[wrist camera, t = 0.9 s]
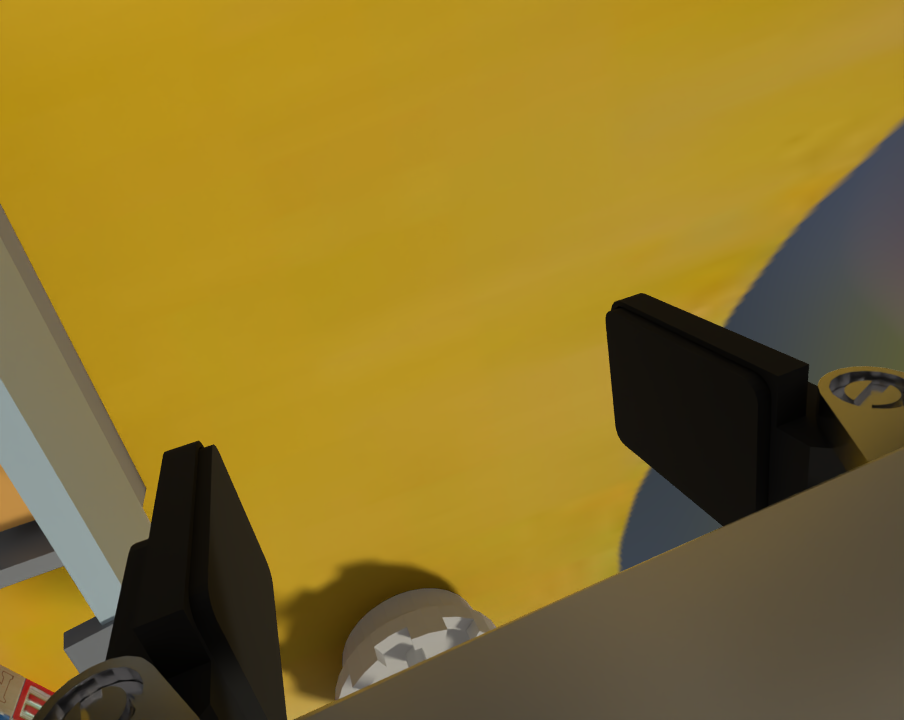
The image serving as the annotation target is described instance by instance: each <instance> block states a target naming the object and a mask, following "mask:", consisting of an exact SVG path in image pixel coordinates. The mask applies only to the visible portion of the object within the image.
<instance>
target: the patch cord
mask: <svg viewBox="0 0 904 720" xmlns="http://www.w3.org/2000/svg"><path fill="white" fill-rule="evenodd" d="M34 520H35V518H34V517H33V515H32V514H31V512H30V511H29V509H28V507H27V506H26V504H25V503H24V501H23V499H22V498H21V496H20V495H19V493H18V491H17V490H16V488H15V487H14V485H13V483H12V482H11V480H10V479H9V477H8V476H7V474H6V472H5V471H4V469H3V468H2V466H1V464H0V532H1V531H4V530H7V529H10V528H13V527H16V526H19V525H22V524H25V523H28V522H31V521H34Z"/></svg>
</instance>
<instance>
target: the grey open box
mask: <svg viewBox="0 0 904 720" xmlns="http://www.w3.org/2000/svg"><path fill="white" fill-rule="evenodd" d="M0 237H1V239H2V241H3V243H4V245H5V247H6V249H7V250H8V252H9V254H10V256H11V258H12V260H13V262H14V264H15V266H16V268H17V270H18V271H19V273H20V275H21V277H22V279H23V281H24V283H25V285H26V287H27V289H28V290H29V292H30V294H31V296H32V298H33V300H34V302H35V304H36V306H37V308H38V310H39V311H40V313H41V315H42V317H43V319H44V321H45V323H46V325H47V327H48V329H49V330H50V332H51V334H52V336H53V338H54V340H55V342H56V344H57V346H58V348H59V350H60V351H61V353H62V355H63V357H64V359H65V361H66V363H67V365H68V367H69V369H70V370H71V372H72V374H73V376H74V378H75V380H76V382H77V384H78V386H79V388H80V390H81V391H82V393H83V395H84V397H85V399H86V401H87V403H88V405H89V407H90V409H91V411H92V412H93V414H94V416H95V418H96V420H97V422H98V424H99V426H100V428H101V430H102V431H103V433H104V435H105V437H106V439H107V441H108V443H109V445H110V447H111V449H112V451H113V452H114V454H115V456H116V458H117V460H118V462H119V464H120V466H121V468H122V470H123V471H124V473H125V475H126V477H127V479H128V481H129V483H130V485H131V487H132V489H133V491H134V492H135V494H136V496H137V498H138V500H139V502H140V504H141V506H142V507H143V502H144V497H145V493H146V487H145V485H144V483H143V481H142V479H141V477H140V475H139V474H138V472H137V470H136V468H135V466H134V464H133V462H132V460H131V458H130V456H129V454H128V452H127V450H126V448H125V446H124V444H123V442H122V440H121V438H120V436H119V435H118V433H117V431H116V429H115V427H114V425H113V423H112V421H111V419H110V417H109V415H108V413H107V411H106V409H105V407H104V405H103V403H102V401H101V399H100V397H99V396H98V394H97V392H96V390H95V388H94V386H93V384H92V382H91V380H90V378H89V376H88V374H87V372H86V370H85V368H84V366H83V364H82V362H81V360H80V358H79V356H78V355H77V353H76V351H75V349H74V347H73V345H72V343H71V341H70V339H69V337H68V335H67V333H66V331H65V329H64V327H63V325H62V323H61V321H60V319H59V317H58V316H57V314H56V312H55V310H54V308H53V306H52V304H51V302H50V300H49V298H48V296H47V294H46V292H45V290H44V288H43V286H42V284H41V282H40V280H39V278H38V277H37V275H36V273H35V271H34V269H33V267H32V265H31V263H30V261H29V259H28V257H27V255H26V253H25V251H24V249H23V247H22V245H21V243H20V241H19V239H18V237H17V236H16V234H15V232H14V230H13V228H12V226H11V224H10V222H9V220H8V218H7V216H6V214H5V212H4V210H3V208H2V206H1V204H0ZM62 566H64V565H63V563H62V561H61V560H60V558H59V557H58V555H57V554H56V552H55V550H54V549H53V547H52V546H51V544H50V542H49V541H48V539H47V538H46V536H45V534H44V533H43V531H42V530H41V528H40V526H39V525H38V523H37V522H36V520H34V521H31V522H28V523H25V524H22V525H19V526H16V527H13V528H10V529H7V530H4V531H1V532H0V589H1V588H3V587H6V586H9V585H12V584H15V583H17V582H20V581H23V580H26V579H28V578H31V577H34V576H37V575H40V574H42V573H45V572H48V571H51V570H54V569H56V568H59V567H62Z"/></svg>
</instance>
